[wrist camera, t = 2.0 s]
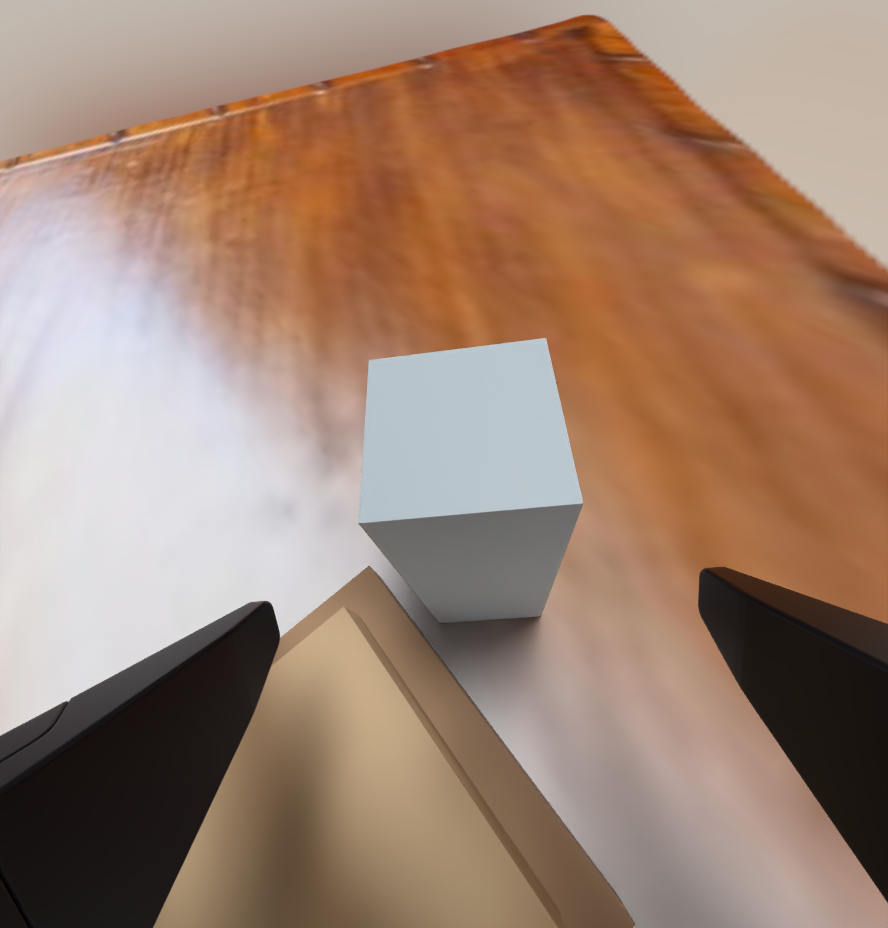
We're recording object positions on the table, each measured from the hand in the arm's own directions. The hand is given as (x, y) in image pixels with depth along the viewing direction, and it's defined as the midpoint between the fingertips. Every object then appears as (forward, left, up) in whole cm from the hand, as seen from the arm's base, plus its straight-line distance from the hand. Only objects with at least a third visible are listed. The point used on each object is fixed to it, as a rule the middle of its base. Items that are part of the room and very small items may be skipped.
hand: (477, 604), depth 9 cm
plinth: (-9, -1, -11) cm, 14 cm away
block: (+2, +3, -11) cm, 11 cm away
